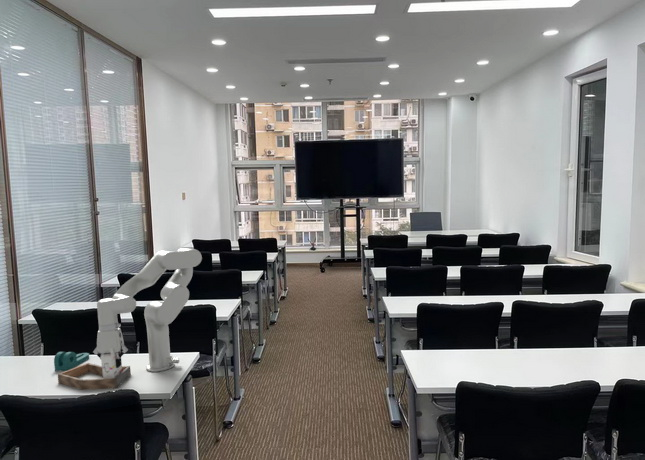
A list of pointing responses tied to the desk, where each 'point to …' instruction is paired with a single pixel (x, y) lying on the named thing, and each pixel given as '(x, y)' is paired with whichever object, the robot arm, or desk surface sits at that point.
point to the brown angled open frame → (70, 379)
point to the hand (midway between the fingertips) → (112, 366)
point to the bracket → (69, 360)
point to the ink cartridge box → (110, 365)
